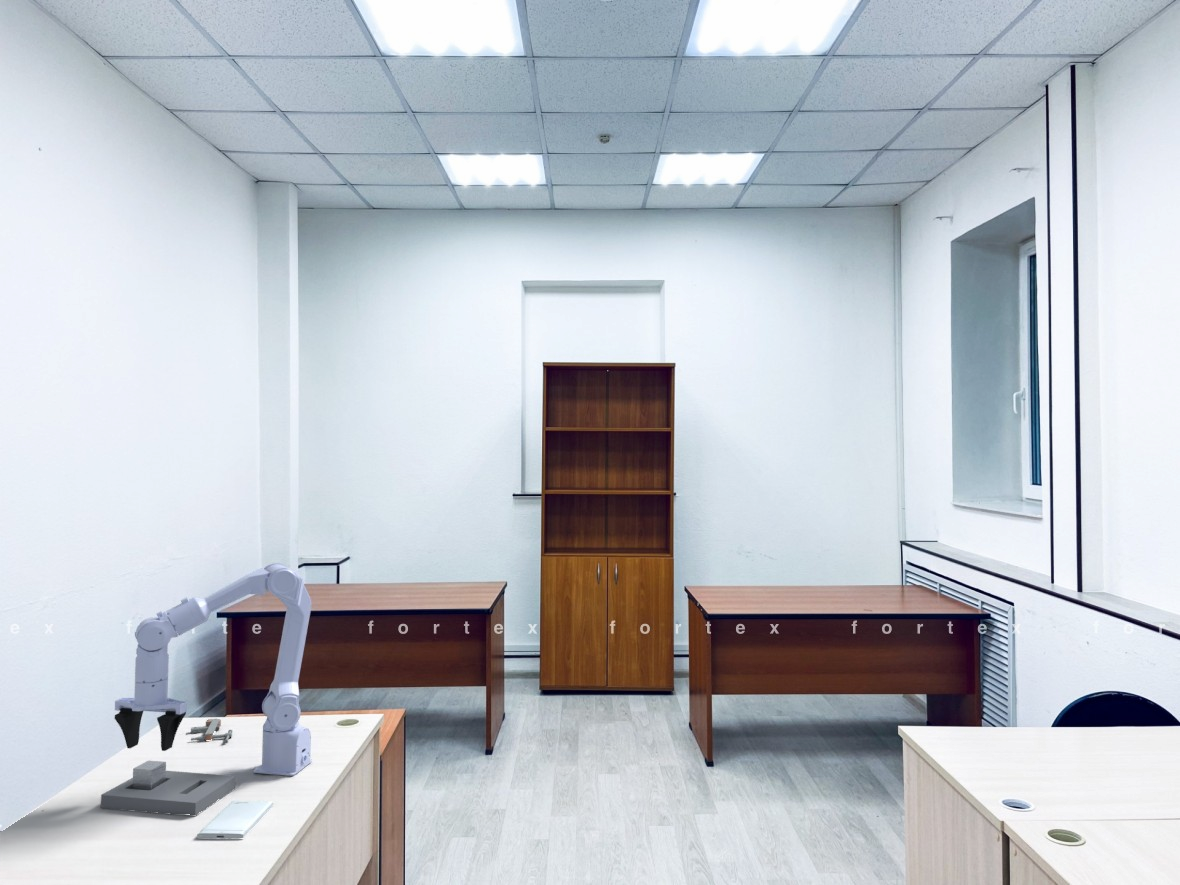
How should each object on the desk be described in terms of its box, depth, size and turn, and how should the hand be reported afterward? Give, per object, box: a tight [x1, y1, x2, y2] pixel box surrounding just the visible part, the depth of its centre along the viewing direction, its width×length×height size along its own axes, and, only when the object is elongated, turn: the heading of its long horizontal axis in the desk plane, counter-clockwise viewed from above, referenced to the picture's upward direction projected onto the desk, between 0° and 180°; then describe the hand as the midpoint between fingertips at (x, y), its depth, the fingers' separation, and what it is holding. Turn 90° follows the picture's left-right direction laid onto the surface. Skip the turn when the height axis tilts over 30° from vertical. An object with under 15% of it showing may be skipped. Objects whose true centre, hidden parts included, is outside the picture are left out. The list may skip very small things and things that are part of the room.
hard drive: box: [196, 800, 274, 839], centre depth 134 cm, size 2×8×12 cm
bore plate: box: [100, 770, 237, 816], centre depth 143 cm, size 20×12×2 cm, turn 82°
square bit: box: [132, 760, 167, 791], centre depth 144 cm, size 4×4×6 cm
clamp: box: [190, 718, 233, 744], centre depth 177 cm, size 15×2×10 cm
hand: (149, 747), depth 145 cm, fingers open, 7 cm apart
